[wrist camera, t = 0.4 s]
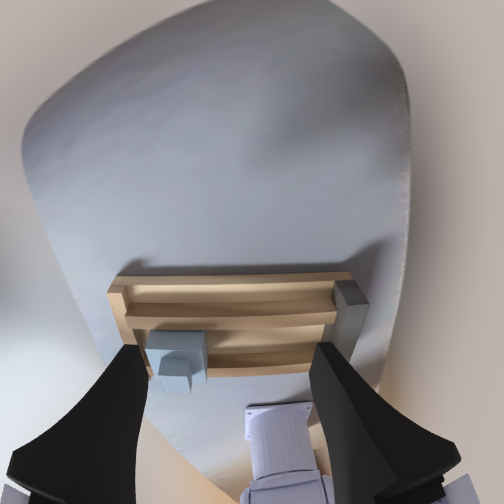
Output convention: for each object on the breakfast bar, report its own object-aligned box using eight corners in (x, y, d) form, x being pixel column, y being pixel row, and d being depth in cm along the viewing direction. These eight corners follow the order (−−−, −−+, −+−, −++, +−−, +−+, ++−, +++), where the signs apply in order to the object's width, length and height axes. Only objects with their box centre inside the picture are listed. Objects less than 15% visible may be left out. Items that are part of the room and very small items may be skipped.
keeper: (207, 352, 23) (206, 399, 19) (161, 351, 23) (153, 397, 18) (204, 319, 21) (200, 368, 17) (153, 319, 21) (140, 366, 17)
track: (326, 356, 26) (337, 390, 23) (142, 362, 25) (134, 396, 21) (348, 271, 22) (369, 303, 18) (115, 276, 20) (97, 310, 17)
